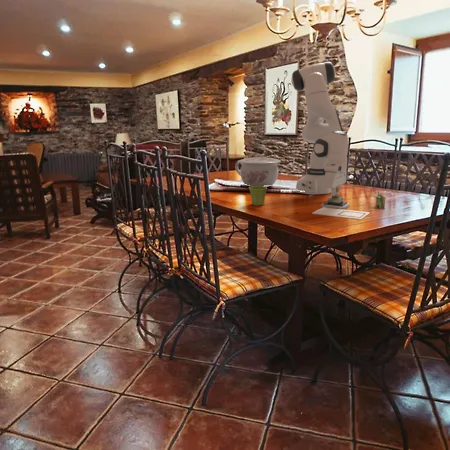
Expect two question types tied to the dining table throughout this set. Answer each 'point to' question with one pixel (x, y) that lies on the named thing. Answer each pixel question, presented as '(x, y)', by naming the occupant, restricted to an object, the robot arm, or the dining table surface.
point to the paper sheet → (341, 213)
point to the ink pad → (336, 205)
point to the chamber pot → (258, 170)
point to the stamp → (335, 197)
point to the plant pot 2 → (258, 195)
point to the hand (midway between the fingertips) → (335, 194)
